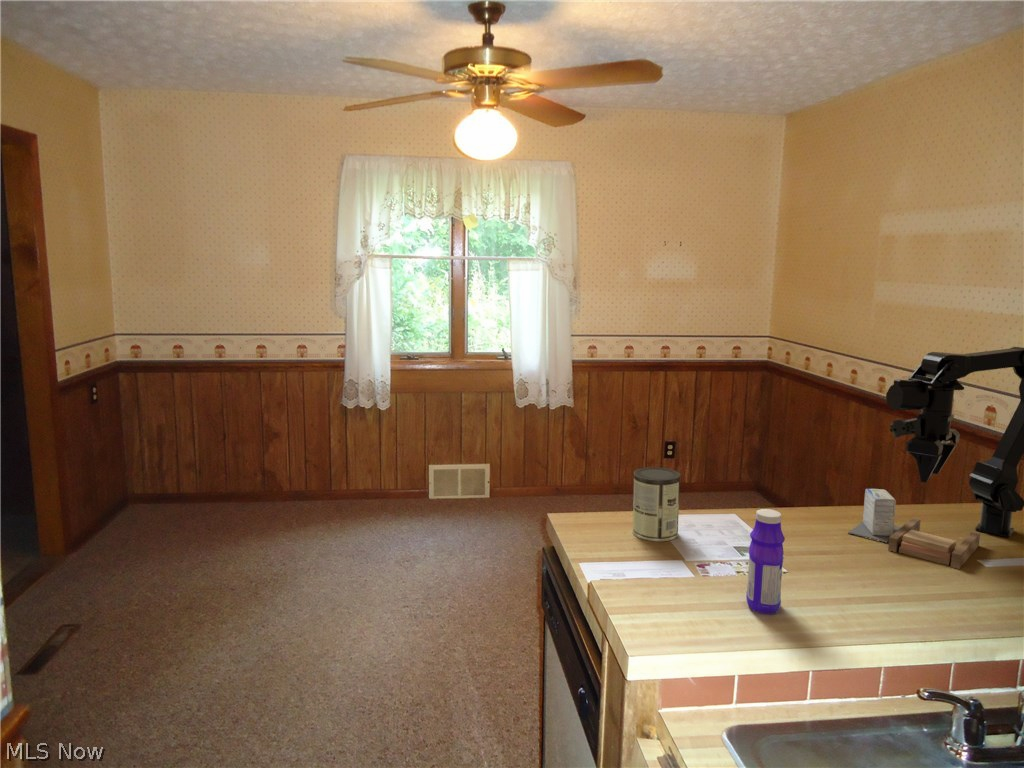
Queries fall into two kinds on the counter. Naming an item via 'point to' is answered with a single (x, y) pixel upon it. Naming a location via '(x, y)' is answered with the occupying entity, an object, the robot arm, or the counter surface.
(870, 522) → the medicine box
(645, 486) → the coffee can
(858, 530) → the mat
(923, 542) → the offcut stack
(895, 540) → the rack
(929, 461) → the robot arm
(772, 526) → the bottle
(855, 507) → the counter surface
